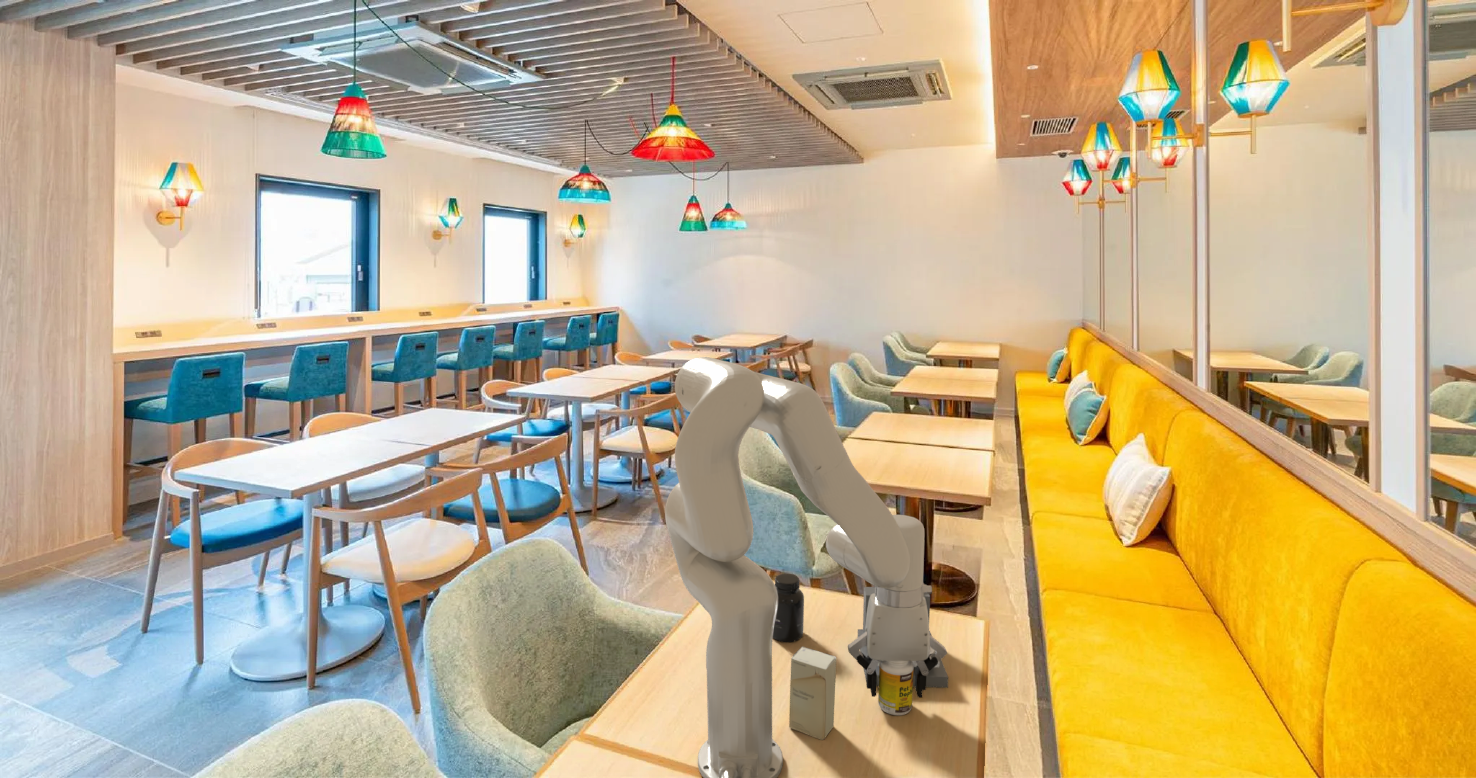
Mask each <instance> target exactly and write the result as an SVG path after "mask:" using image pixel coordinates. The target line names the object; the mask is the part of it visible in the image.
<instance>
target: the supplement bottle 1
mask: <svg viewBox="0 0 1476 778" xmlns="http://www.w3.org/2000/svg"><path fill="white" fill-rule="evenodd" d="M774 585H775V587H776V590H777V594H778V609H777V614H776V619H775V624H774V630H773V639H774V640H775V641H778V642H781V643H782V642H783V643H793V642H797V641H799V640H800V639H801V638H802V637H803V635H804V623H805V622H804V621H805V619H804V618H805V617H804V615H805V614H804V613H805V612H804V611H805V596H804V593H803V590H801V589H800V578H799V576H797V575H796V574H793V573H792V574H791V573H781V574H778V575H776V576H775V578H774Z"/></svg>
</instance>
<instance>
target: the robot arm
mask: <svg viewBox="0 0 1476 778" xmlns="http://www.w3.org/2000/svg"><path fill="white" fill-rule="evenodd" d="M674 392H675V396H676V398H677V401H678V402H679V403H680V406H682V407H683V409H685V410H686V411H687V412H689V414H688V416H687V418H686V419H685V421H684V423H683V424H682V425H683V426H682V427H681V429H680V432H679V435H678V437H677V440H676V443H675V449H674V461H675V462H674V463H675V464H674V465H675V470H676V475H677V478H678V483H677V484H675V486H673V488H672V490H671V491H670V493H669V494H668V497H667V499H666V503H665V508H664V518H665V519H664V520H665V524H666V527H667V532H668V536H669V539H670V543H671V546H672V551H673V554H674V558H675V561H676V564H677V565H676V566H677V569H678V571H679V575H680V577H681V581H682V583H683V584H684V587H685V588H686V590H687V591H688V593H689V594H690V595H691V596H692V597H693V598H694V599H695V601H697V602H698V603H699V604H700V605H701V606H702V608H703V609H704V610H705V611H706V612H707V613H708V614H709V616H710V618H711V630H710V633H709V636H708V640H707V641H706V643H707V644H706V648H705V649H706V651H705V653H706V655H705V662H706V664H705V665H706V694H707V695H706V700H707V703H706V705H707V706H706V708H707V740H706V741H704V743H703V744H702V745H701V747H700V749H699V750H698V754H697V755H698V756H697V767H698V771H699V772H700V775H701V777H703V778H779V775H780V774H781V772H782V768H783V760H784V757H783V751H782V748H781V746H779V744H778V743H777V742H776V740H774V739H773V639H774V638H773V630H774V624H775V619H776V614H777V609H778V594H777V590H776V587H775V582H774V581H773V579H772V578H771V577H770V575H769V574H768V573H767V571H765V569H763V568H762V567H761V566H760V565H758V564H757V563H755V561H754V560H752V559H750V557H748V556H746V554H747V552H748V551H749V549H750V548H751V545H752V543H753V538H754V523H753V517H752V514H751V509H750V505H749V502H748V498H747V497H748V496H747V494H746V490H745V485H744V482H743V478H742V477H743V476H742V473H741V472H742V471H741V467H740V460H739V452H740V447H741V445H742V444H741V443H742V442H743V438H744V437H745V435H746V434H747V432H748V430H749V429H756V430H759V431H761V432H763V433H767V434H769V435H770V436H772V437H773V439H774V440H775V441H776V444H777V445H778V447H779V450H780V451H781V453H782V455H783V457H784V459H785V460H786V463H787V465H788V467H789V469H790V471H791V473H792V475H793V477H794V478H795V481H796V483H797V485H798V487H799V488H800V491H801V492H802V493H803V494H804V495H805V496H806V498H807V499H808V500H809V501H811V503H812V504H813V505H814V506H815V507H816V508H817V509H819V510H820V511H821V512H822V513H824V514H825V515H826V516H827V517H828V518H830V519H831V520H832V521H833V522H834V523H835V524H836V525H834V526H832V528H831V529H830V530H829V532H828V533H827V536H826V541H825V547H826V551H827V553H828V555H829V556H830V558H831V559H832V560H833V561H834V562H835V563H837V564H838V565H840V566H841V567H843V568H845V570H847V571H849V572H851V573H853V574H855V575H857V576H858V577H860V579H861V578H862V579H863V581H866V582H867V583H869V584H871V586H873V587H875V593H873V594H871V596H870V599H869V603H868V608H867V615H866V626H865V633H863V634H862V635H861V636H859V637H858V636H857V637H856V638H855V639H854V640H853V641H851V643H849V644H848V645H847V650H848V653H849V654H850V655H851V656H852V657H853V659H854V660H855V661H856V662H857V664H858V665H860V666H861V667H862V669H863V668H864V669H865V670H866V672H867V674H866V679H865V683H866V689H870V694H871V697H877V688H878V686H877V674H876V670H875V669H876V667H877V665H878V664H879V662H880V660H885V661H916V663H917V666H916V667H915V687H914V689H915V693H916V696H917V698H920V699H922V698H923V691H926V690H927V687H926V676H927V675H928V674H929V671H930V670H931V669H932V668H934V667H935V666H936V665H937V664H938V662H939V661H940V660H943V659H944V657H946V655H947V653H948V651H947V649H946V646H944V645H943V644H942V643H940V642H939V641H938V640H937V639H936V638H935V637H933V636H931V635H932V634H931V635H930V634H929V631H930V618H929V619H928V610H927V605H926V600H925V597H924V596H925V595H927V594H929V595H931V594H932V592H933V588H932V585H927V584H925V583H924V561H925V560H924V558H925V528H924V524H923V523H922V521H920V520H919V519H918V518H916V517H914V516H909V515H905V514H904V515H903V514H892V512H891V511H890V509H889V508H888V507H887V505H886V503H885V502H883V499H881V498H880V497H879V495H878V493H876V492H875V490H874V489H873V488H872V487H871V486H870V484H869V483H868V482H867V480H866V479H865V478H864V476H862V474H861V473H860V472H859V471H858V470H857V468H855V466H854V463H852V461H851V459H850V457H849V455H848V452H847V450H846V448H845V446H844V444H843V442H842V440H841V438H840V435H839V433H838V431H837V428H836V426H835V425H834V422H833V420H832V417H831V416H830V413H829V412H828V409H827V407H826V405H825V403H824V401H823V400H822V398H821V396H820V395H819V393H818V392H817V391H816V390H815V389H813V388H811V386H809V385H806V384H804V383H800V382H796V381H792V380H789V379H785V378H781V377H777V376H772V375H768V374H764V373H759V372H756V371H753V370H751V369H750V368H748V367H746V366H744V365H740V364H738V363H734V362H730V361H726V360H722V359H721V360H720V359H718V358H715V357H708V356H700V357H696V358H693V359H690V360H689V361H687V362H685V363H684V364H683V365H682V366H681V367H680V369H679V371H678V372H677V375H676V377H675V382H674ZM864 646H867V652H868V656H867V657H866V656H865V655H864V654H863V653H862V652H860V649H861V648H862V647H864ZM930 647H931V648H932V649H934V650H935V651H934V652H933V653H932V654H930V655H929V653H930ZM864 669H863V670H864Z"/></svg>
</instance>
